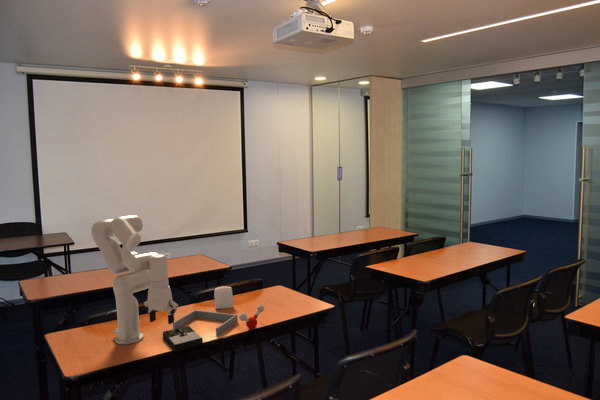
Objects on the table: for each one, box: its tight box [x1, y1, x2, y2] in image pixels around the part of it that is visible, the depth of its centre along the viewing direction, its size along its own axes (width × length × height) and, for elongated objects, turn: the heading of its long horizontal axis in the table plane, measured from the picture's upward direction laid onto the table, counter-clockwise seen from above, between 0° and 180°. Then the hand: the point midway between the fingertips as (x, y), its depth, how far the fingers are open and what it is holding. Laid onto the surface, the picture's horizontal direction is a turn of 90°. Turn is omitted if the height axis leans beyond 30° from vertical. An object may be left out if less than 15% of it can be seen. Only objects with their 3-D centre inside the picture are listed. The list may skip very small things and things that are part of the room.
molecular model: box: [238, 304, 265, 330], centre depth 215 cm, size 18×6×10 cm, turn 154°
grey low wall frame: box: [172, 309, 239, 337], centre depth 220 cm, size 26×19×4 cm
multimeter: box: [162, 325, 204, 353], centre depth 201 cm, size 13×19×5 cm
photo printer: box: [213, 285, 234, 310], centre depth 247 cm, size 10×4×12 cm, turn 99°
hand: (162, 322), depth 187 cm, fingers open, 9 cm apart
